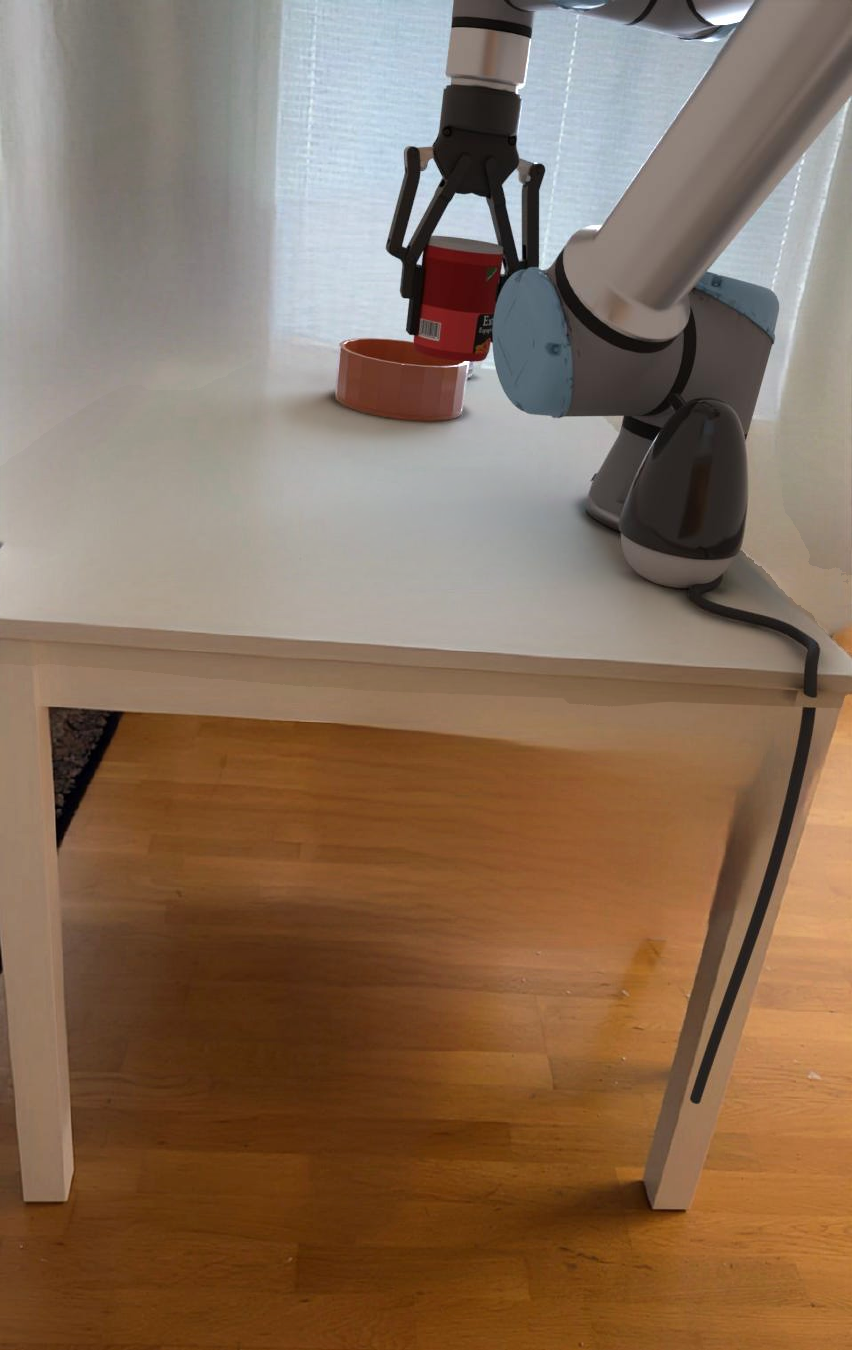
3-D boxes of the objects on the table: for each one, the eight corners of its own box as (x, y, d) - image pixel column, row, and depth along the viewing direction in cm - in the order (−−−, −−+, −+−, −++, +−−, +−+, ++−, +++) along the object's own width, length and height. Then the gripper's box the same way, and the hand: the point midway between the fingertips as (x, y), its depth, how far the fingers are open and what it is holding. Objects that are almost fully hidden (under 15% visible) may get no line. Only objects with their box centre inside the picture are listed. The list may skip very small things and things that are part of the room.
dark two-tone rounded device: (684, 553, 97) (726, 384, 90) (753, 599, 88) (806, 417, 82) (586, 554, 93) (623, 379, 86) (650, 603, 85) (695, 412, 78)
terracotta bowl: (472, 426, 130) (480, 372, 127) (340, 414, 127) (345, 358, 124) (449, 395, 144) (456, 345, 141) (330, 383, 141) (334, 333, 138)
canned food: (489, 366, 107) (506, 249, 103) (410, 355, 107) (423, 238, 102) (487, 353, 114) (502, 243, 109) (413, 343, 114) (425, 233, 109)
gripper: (578, 103, 105) (540, 340, 115) (370, 73, 101) (349, 321, 111) (601, 102, 99) (558, 353, 109) (379, 69, 95) (355, 333, 105)
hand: (452, 337), depth 110 cm, fingers closed on canned food, 8 cm apart
